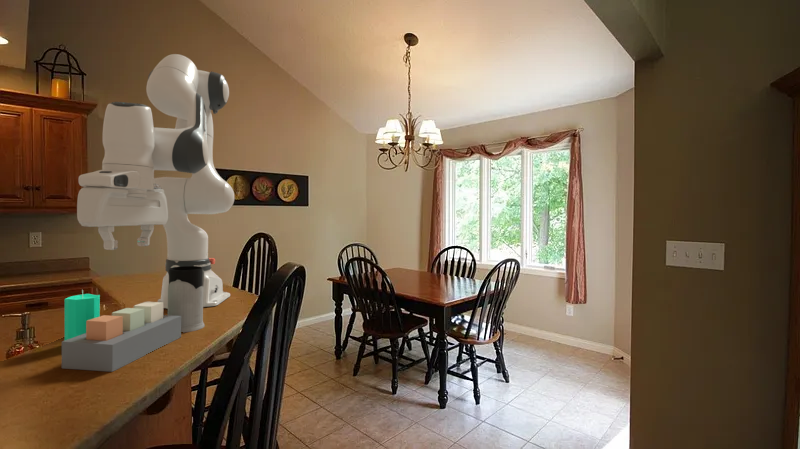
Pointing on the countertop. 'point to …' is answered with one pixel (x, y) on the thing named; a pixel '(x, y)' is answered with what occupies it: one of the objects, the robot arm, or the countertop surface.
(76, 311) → the candle
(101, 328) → the key
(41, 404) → the countertop surface
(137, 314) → the key mid
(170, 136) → the robot arm
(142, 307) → the key
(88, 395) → the countertop surface
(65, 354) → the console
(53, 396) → the countertop surface
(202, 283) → the grey black ceramic vase
